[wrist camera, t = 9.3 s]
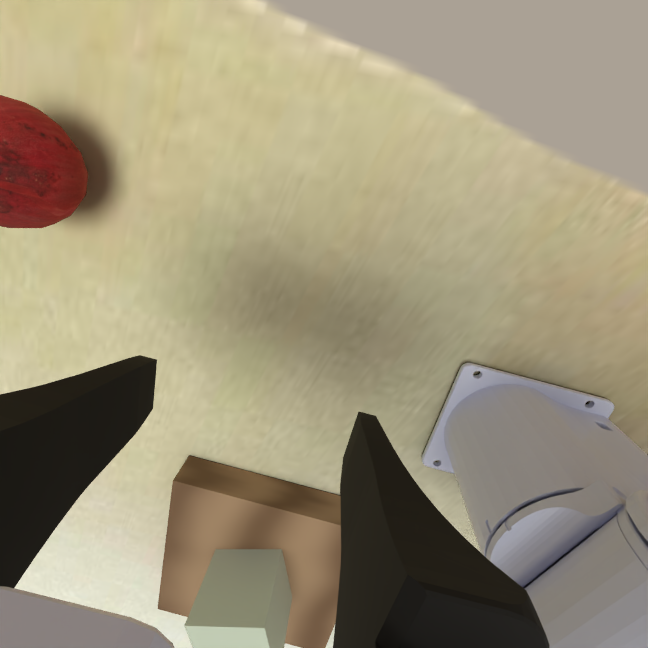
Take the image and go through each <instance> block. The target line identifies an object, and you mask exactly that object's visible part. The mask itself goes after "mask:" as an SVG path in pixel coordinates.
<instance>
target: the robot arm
mask: <svg viewBox="0 0 648 648" xmlns="http://www.w3.org/2000/svg"><path fill="white" fill-rule="evenodd" d="M156 364H157V360H156V359H152V358H148V357H144V356H140V355H139V356H135V357H131V358H128V359H125V360H122V361H119V362H116V363H113V364H110V365H107V366H103V367H100V368H97V369H94V370H91V371H88V372H85V373H82V374H79V375H75V376H72V377H69V378H65V379H62V380H58V381H55V382H51V383H48V384H44V385H40V386H37V387H32V388H28V389H24V390H19V391H15V392H10V393H5V394H0V648H174V646H173V643H172V642H170V641H169V640H168V639H167V638H166V637H165V636H164V635H163V634H162V633H161V632H160V631H159V630H158V629H157V628H155V627H152V626H150V625H148V624H145V623H143V622H141V621H138V620H136V619H133V618H131V617H127V616H123V615H119V614H115V613H111V612H107V611H103V610H99V609H95V608H91V607H87V606H83V605H79V604H75V603H71V602H67V601H63V600H59V599H55V598H51V597H47V596H43V595H39V594H34V593H30V592H26V591H22V590H18V589H14V587H15V586H16V584H17V583H18V581H19V580H20V578H21V577H22V575H23V574H24V573H25V571H26V570H27V568H28V567H29V565H30V564H31V562H32V561H33V559H34V558H35V556H36V555H37V554H38V552H39V551H40V549H41V548H42V547H43V545H44V544H45V542H46V541H47V539H48V538H49V537H50V535H51V534H52V532H53V531H54V530H55V528H56V527H57V525H58V524H59V523H60V521H61V520H62V519H63V517H64V516H65V515H66V513H67V512H68V511H69V509H70V508H71V507H72V505H73V504H74V503H75V501H76V500H77V499H78V498H79V496H80V495H81V494H82V493H83V492H84V490H85V489H86V488H87V487H88V486H89V484H90V483H91V482H92V481H93V480H94V479H95V478H96V477H97V476H98V475H99V473H100V472H101V471H102V470H103V469H104V468H105V467H106V466H107V465H108V464H109V463H110V461H111V460H112V459H113V458H114V457H115V456H116V455H117V454H118V453H119V452H120V450H121V449H122V448H123V447H124V446H125V445H126V444H127V443H128V441H129V440H130V439H131V438H132V437H133V436H134V435H135V434H136V432H137V431H138V430H139V428H140V427H141V425H142V424H143V423H144V421H145V420H146V418H147V417H148V415H149V414H150V412H151V411H152V409H153V400H154V388H155V376H156ZM476 371H480V373H479V375H473V373H474V372H476ZM587 401H590V403H589V404H586V405H585V403H586V402H587ZM613 410H614V404H613V403H612V402H611V401H610V400H608V399H605V398H602V397H598V396H594V395H590V394H586V393H583V392H579V391H575V390H571V389H568V388H564V387H560V386H556V385H553V384H549V383H545V382H541V381H537V380H534V379H530V378H526V377H522V376H519V375H515V374H511V373H507V372H504V371H500V370H496V369H492V368H488V367H485V366H481V365H477V364H473V363H465V364H463V365H462V366H461V367H460V370H459V372H458V374H457V376H456V379H455V381H454V383H453V386H452V388H451V390H450V393H449V395H448V397H447V400H446V402H445V404H444V407H443V409H442V411H441V413H440V416H439V418H438V420H437V423H436V425H435V427H434V430H433V432H432V434H431V437H430V439H429V441H428V444H427V446H426V448H425V450H424V453H423V455H422V462H423V464H424V465H425V466H427V467H431V468H435V469H438V470H442V471H446V472H450V473H453V474H455V476H456V479H457V482H458V485H459V488H460V491H461V494H462V497H463V500H464V503H465V506H466V509H467V512H468V515H469V518H470V521H471V524H472V527H473V530H474V533H475V536H476V539H477V542H478V545H479V548H480V551H481V553H480V552H479V551H478V550H477V549H476V548H475V547H474V546H473V545H472V544H470V543H469V542H468V541H467V540H466V539H465V538H464V537H463V536H462V535H461V534H460V533H459V532H458V531H457V530H456V529H455V528H454V527H453V526H452V525H451V524H450V523H449V522H448V520H447V519H446V518H445V517H444V516H443V515H442V514H441V513H440V512H439V511H438V510H437V508H436V507H435V506H434V505H433V504H432V503H431V501H430V500H429V499H428V498H427V496H426V495H425V494H424V493H423V491H422V490H421V489H420V488H419V486H418V485H417V484H416V482H415V481H414V479H413V478H412V477H411V475H410V474H409V472H408V471H407V469H406V468H405V466H404V465H403V463H402V462H401V460H400V458H399V457H398V455H397V453H396V452H395V450H394V448H393V447H392V445H391V443H390V441H389V440H388V438H387V436H386V434H385V432H384V430H383V428H382V427H381V425H380V423H379V421H378V419H377V417H376V416H374V415H370V414H366V413H362V412H358V415H357V418H356V421H355V424H354V427H353V430H352V433H351V436H350V439H349V442H348V445H347V448H346V451H345V454H344V457H343V465H342V474H341V484H340V499H341V566H340V578H339V590H338V602H337V613H336V623H335V634H334V644H333V648H648V455H647V454H646V453H645V452H644V451H643V450H642V449H641V448H640V447H639V446H638V445H636V444H635V443H634V442H633V441H632V440H631V439H630V438H629V437H628V436H627V435H626V434H624V433H623V432H622V431H621V430H620V429H619V428H618V427H617V426H616V425H615V424H613V423H612V422H611V421H610V420H609V419H608V418H609V416H610V415H611V413H612V412H613ZM436 460H439V462H434V461H436Z"/></svg>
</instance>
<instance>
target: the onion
mask: <svg viewBox="0 0 648 648" xmlns="http://www.w3.org/2000/svg"><path fill="white" fill-rule="evenodd" d="M87 180H88V172H87V169H86V166H85V163H84V160H83V157H82V154H81V152H80V151H79V150H78V148H77V147H76V146H75V144H74V143H73V142H72V140H71V139H70V138H69V137H68V135H67V134H66V133H65V131H64V130H63V129H62V127H61V126H59V125H58V124H57V123H56V122H54V121H53V120H52V119H50V118H49V117H48V116H47V115H45V114H44V113H43V112H41V111H40V110H38V109H36V108H35V107H33V106H31V105H29V104H27V103H25V102H21V101H18V100H15V99H12V98H8V97H5V96H2V95H0V226H2V227H7V228H43V227H46V226H49V225H52V224H55V223H57V222H59V221H61V220H63V219H65V218H67V217H68V216H70V215H71V214H72V213H73V212H74V211H75V209H76V208H77V207H78V205H79V204H80V202H81V201H82V200H83V198H84V197H85V195H86V190H87Z"/></svg>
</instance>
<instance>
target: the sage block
mask: <svg viewBox="0 0 648 648" xmlns="http://www.w3.org/2000/svg"><path fill="white" fill-rule="evenodd" d="M291 602H292V593H291V589H290V584H289V580H288V575H287V571H286V566H285V561H284V557H283V552H282V549H215V552H214V554H213V557H212V559H211V562H210V564H209V567H208V569H207V572H206V574H205V577H204V579H203V582H202V584H201V586H200V589H199V591H198V594H197V596H196V599H195V601H194V604H193V606H192V609H191V611H190V614H189V616H188V619H187V621H186V623H185V628H186V631H187V634H188V636H189V639H190V642H191V644H192V647H193V648H284V644H285V638H286V632H287V626H288V620H289V614H290V608H291Z"/></svg>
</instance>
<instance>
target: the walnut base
mask: <svg viewBox="0 0 648 648" xmlns="http://www.w3.org/2000/svg"><path fill="white" fill-rule="evenodd" d="M215 549H282V552H283V557H284V561H285V566H286V571H287V575H288V580H289V584H290V589H291V593H292V602H291V608H290V614H289V620H288V626H287V632H286V638H285V643H287V644H290V645H294V646H298V647H302V648H325V647H326V644H327V642H328V640H329V637H330V635H331V632H332V630H333V627H334V625H335V622H336V613H337V602H338V590H339V578H340V566H341V499H340V496H339V495H335V494H332V493H328V492H324V491H320V490H317V489H313V488H309V487H305V486H302V485H298V484H294V483H290V482H287V481H283V480H279V479H275V478H272V477H268V476H264V475H260V474H257V473H253V472H249V471H245V470H242V469H238V468H234V467H230V466H227V465H223V464H219V463H215V462H212V461H208V460H204V459H201V458H197V457H193V456H189V457H188V458H187V460H186V461H185V463H184V464H183V466H182V468H181V469H180V471H179V472H178V474H177V475H176V477H175V478H174V480H173V485H172V493H171V502H170V510H169V518H168V527H167V535H166V543H165V552H164V560H163V568H162V577H161V585H160V593H159V602H158V609H160V610H164V611H168V612H171V613H175V614H179V615H183V616H186V617H188V616H189V614H190V611H191V609H192V606H193V604H194V601H195V599H196V596H197V594H198V591H199V589H200V586H201V584H202V582H203V579H204V577H205V574H206V572H207V569H208V567H209V564H210V562H211V559H212V557H213V554H214V552H215Z"/></svg>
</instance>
